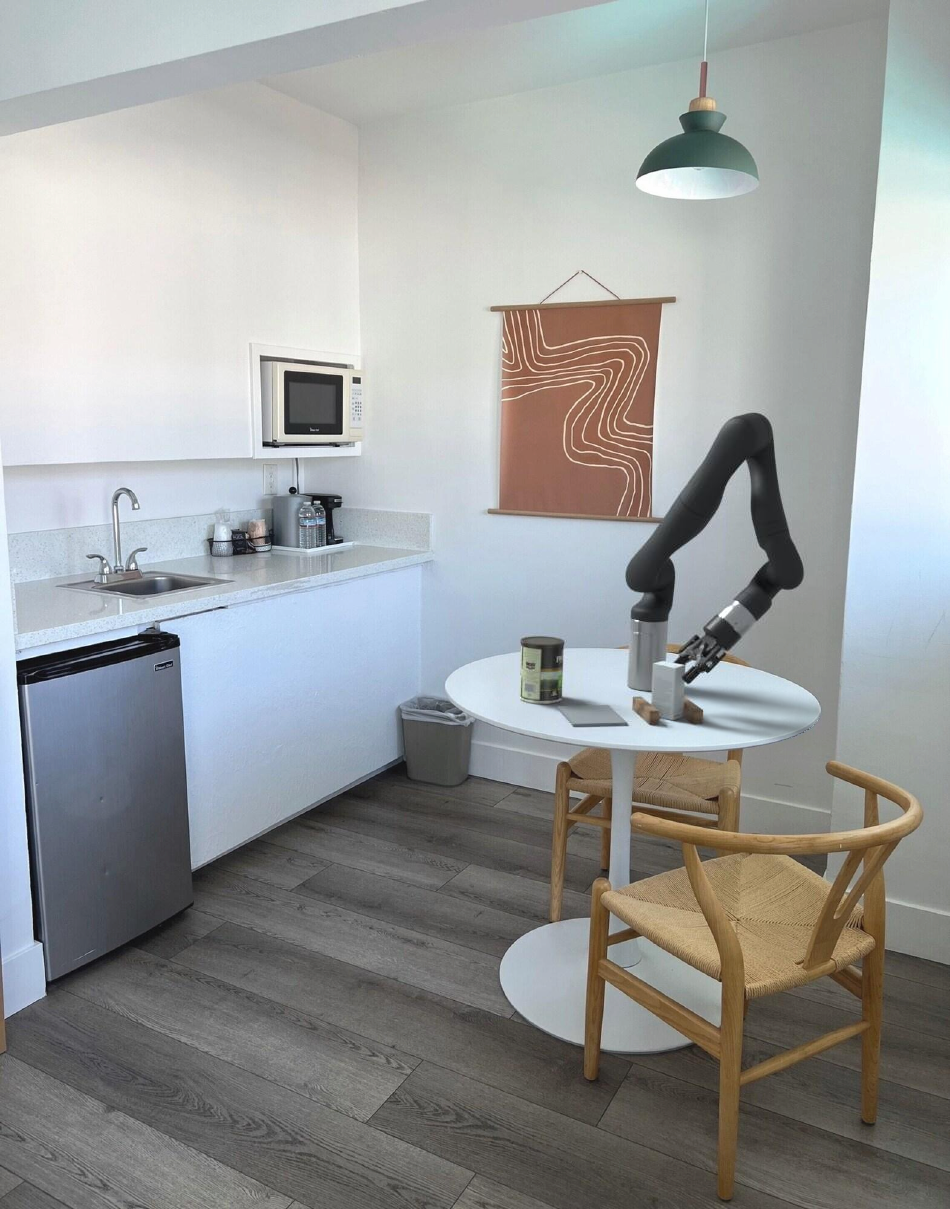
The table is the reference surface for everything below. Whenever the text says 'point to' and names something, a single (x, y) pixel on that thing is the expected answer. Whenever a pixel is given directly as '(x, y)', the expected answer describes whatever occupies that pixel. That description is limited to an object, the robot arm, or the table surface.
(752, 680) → the table surface
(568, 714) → the mat
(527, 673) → the coffee can
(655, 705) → the skincare box
